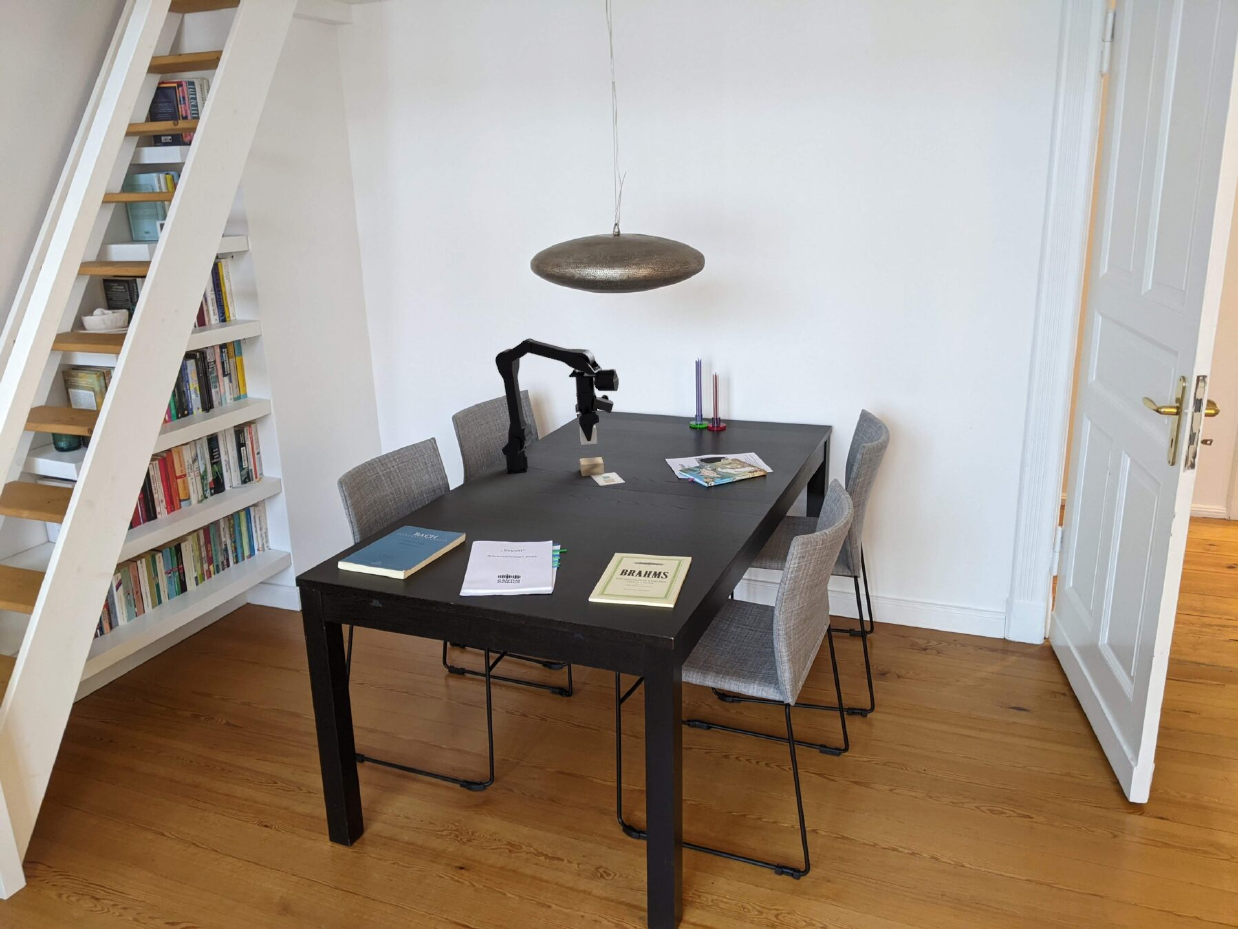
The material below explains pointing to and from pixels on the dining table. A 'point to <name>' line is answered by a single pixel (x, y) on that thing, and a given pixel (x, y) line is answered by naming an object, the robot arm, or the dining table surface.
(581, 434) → the white cube
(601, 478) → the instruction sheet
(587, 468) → the oak base
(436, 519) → the dining table surface
